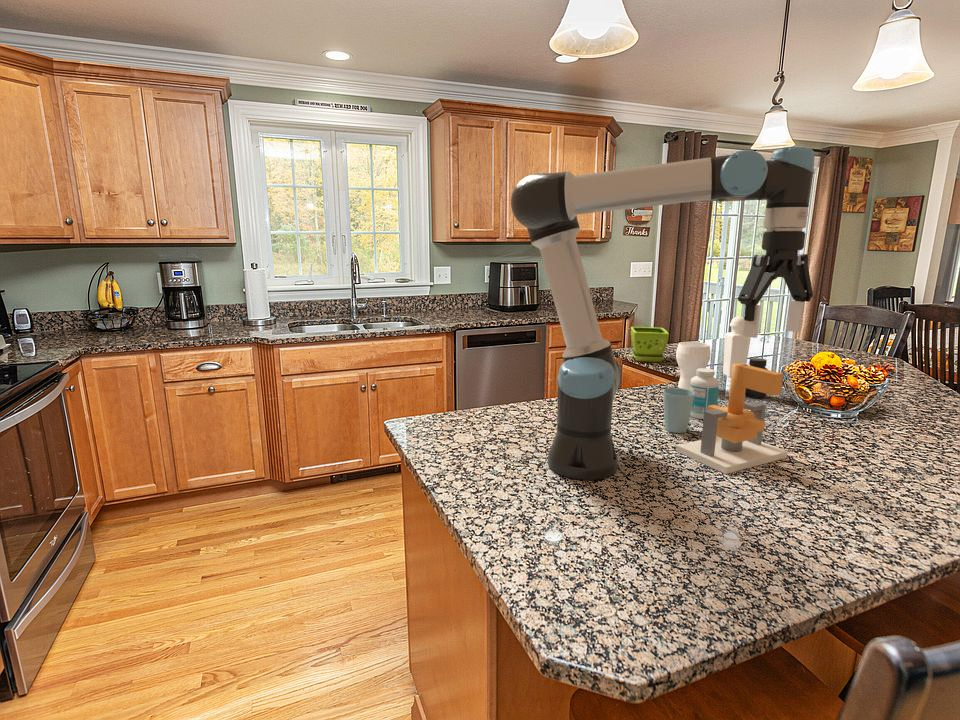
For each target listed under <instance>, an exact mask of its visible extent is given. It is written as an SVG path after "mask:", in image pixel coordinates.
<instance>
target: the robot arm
mask: <svg viewBox="0 0 960 720" xmlns="http://www.w3.org/2000/svg"><path fill="white" fill-rule="evenodd" d="M815 153H816V152H815V151H814V150H813V149H812V148H810V147H806V146H803V147H802V146H795V147H792V146H791V147H788V148H787V147H785V148H778V149H776V150H773V152H772V154H771V157H770V159H768V160H766V158H765V157H764V156H763V155H762V154H761V153H760V152H758V151H755V150H752V149H744V150H738V151H736V152H734V153H732V154H727V155H720V156H713V157H703V158H697V159H690V160H689V159H688V160H681V161H673V162H667V163H666V162H665V163H659V164H653V165H646V166H644V165H643V166H636V167H630V168H622V169H614V170H608V171H599V172H593V173H586V174H578V175H575V174H574V173H572V172H571V171H570V170H568V171H560V172H547V173H545V172H544V173H543V172H542V173H540V172H539V173H532V174H529V175H527V176H525V177H523V178H522V179H521V180H519V182H518V183H517V184H515V185H516V186H515V187H514V188H513V191H512V193H511V197H510V207H511V211H512V214H513V216H514V217H515V220H516V221H517V222H518V223H519V224H520V225H522V226H524V228H526V230H527V233H528V236H529V239H530V244H531V246H534V247H535V248H537V249H539V252H540V255H541V259H542V262H543V266H544V269H545V274H546V277H547V281H548V285H549V288H550V292H551V295H552V300H553V302H554V303H553V304H554V306H555V309H556V315H557V318H558V322H559V324H560V328H561V332H562V335H563V339H564V344H565V345H566V346H565V350H564V351H563V353H562V359H563V363H561V365H560V367H559V370H558V375H557V412H556V413H557V416H556V419H557V420H556V433H555V436H554V438H553V441H552V444H551V447H550V450H549V451H548V455H547V465H548V468H549V469H550V470H551V471H553V472H554V473H556V474H558V475H560V476H563V477H566V478H569V479H574V480H583V481H594V480H602V479H607V478H609V477H611V476H613V475H615V474H616V473H617V472H618V471H617V470H618V456H617V452H616V449H615V445H614V442H613V438H612V420H613V418H612V416H613V403H614V398H615V397H616V394H617V391H618V390H619V388H620V386H621V383H622V370H621V366H620V364H619V362H618V361H617V359H616V357H615V355H614V352H613V347H612V345H611V342H610V341H608V340H607V339H605V338H604V337H603V336H602V333H601V328H600V324H599V322H598V317H597V313H596V309H595V306H594V302H593V298H592V295H591V291H590V288H589V283H588V280H587V276H586V273H585V269H584V265H583V261H582V257H581V253H580V250H579V245H578V242H577V236H578V234H579V232H580V231H581V228H580V223H579V220H578V219H579V218H578V215H585V214H595V213H604V212H612V211H621V210H629V209H630V210H631V209H638V208H639V209H640V208H646V207H647V208H648V207H656V206H665V205H666V206H667V205H674V204H682V203H684V204H685V203H693V202H700V201H701V202H702V201H707V202H719V203H723V202H740V201H741V202H742V201H744V202H745V201H766V205H765V212H764V218H763V219H764V222H763V229H765V230H766V231H764V232H763V233H762V238H761V239H762V240H761V249H762V250H764V251H765V254H755V255H753V259H752V261H751V262H752V263H751V266H750V270H749V272H748V274H747V276H746V279H745V281H744V283H743V286H742V288H741V290H740V292H739V295H738V297H737V301H738V302H740V304H741V305H744V314H743V315H744V320H745V322H744V332H743V336H747V337H751V338H754V339H756V338H758V335H759V334H758V333H759V325H760V318H761V316H760V315H761V308H762V306H761V305H760V304H759V303H760V301H761V299H762V298H763V296H764V295H765V294H766V292H767V291H768V289H769V288H770V286H771V285H772V283H773V282H774V281H775V280H777V279H778V278H783V280H784V282H785V284H786V287H787V288H788V291H789V293H790V295H791V298H792V300H789V302H788V304H789V305H788V313H787V319H786V320H787V321H786V329H785V330H786V332H793V333H801V329H802V322H803V314H804V309H805V302H806V303H807V302H810V301H811V299H812V298H813V296H814V291H813V286H812V281H811V276H810V271H809V265H808V264H809V255H808V254H807V253H806V254H805V253H798V251H802V250H804V248H805V240H806V234H807V233H806V232H805V231H804V230H803V229H805V228H807V223H808V222H807V221H808V215H809V207H810V206H809V205H810V200H811V193H812V192H811V191H812V185H813V180H814V174H815V167H814V166H815ZM758 304H759V305H758Z"/></svg>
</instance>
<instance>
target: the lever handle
mask: <svg viewBox="0 0 960 720" xmlns="http://www.w3.org/2000/svg"><path fill="white" fill-rule="evenodd" d="M783 379H784V373H782V372H778V371H775V370H774V371H773V370H769V369H768V370H766V369H762V368H757V367H753V366H750V365H749V364H741V363H734V364H732V374H731V377H730V385H729V397H728V403H727V404H728V405H727V406H720V405H718V404H717V405H710V406H708V408H707V411H708V410H713V409H720V410H723V411H726V412H728V414H727V417H722V418H718V423H717V433H716V436H718V437H720V438H723V439H725V440H728V441H730V442H733V443H739V442H743V441H747V440H751V439H756V438H757V432H758V431H763V432H764V431H765V427H766V421H765V420H764V421H762V420H759V419H756V418H754V417H755V414H754V413H753V412H751V410H749V409H745V408H744V403H745V398H746V396H745V391H746V388H748V389H751V390H755V391H758V392H762V393H766V394H767V395H769V396H772V397H773V396H778V395H781V394H782V387H783Z"/></svg>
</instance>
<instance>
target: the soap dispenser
mask: <svg viewBox="0 0 960 720" xmlns="http://www.w3.org/2000/svg"><path fill="white" fill-rule="evenodd" d="M744 322H745V320H744V317H743V316H739V315H738V316H735V317H733V318H732V319H731V321H730V323H729V326H730V328H731V332H726V333H725V334H724V349H723V352H724V353H723V363H722V364H723V369H722V374H723V375H725V376H726V377H727V378H731V374H732V364H734V363H741V364H747V363H748V357H749V351H750V344H751V339H752V337H747V336H743V332H744ZM747 365H748V364H747Z"/></svg>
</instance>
